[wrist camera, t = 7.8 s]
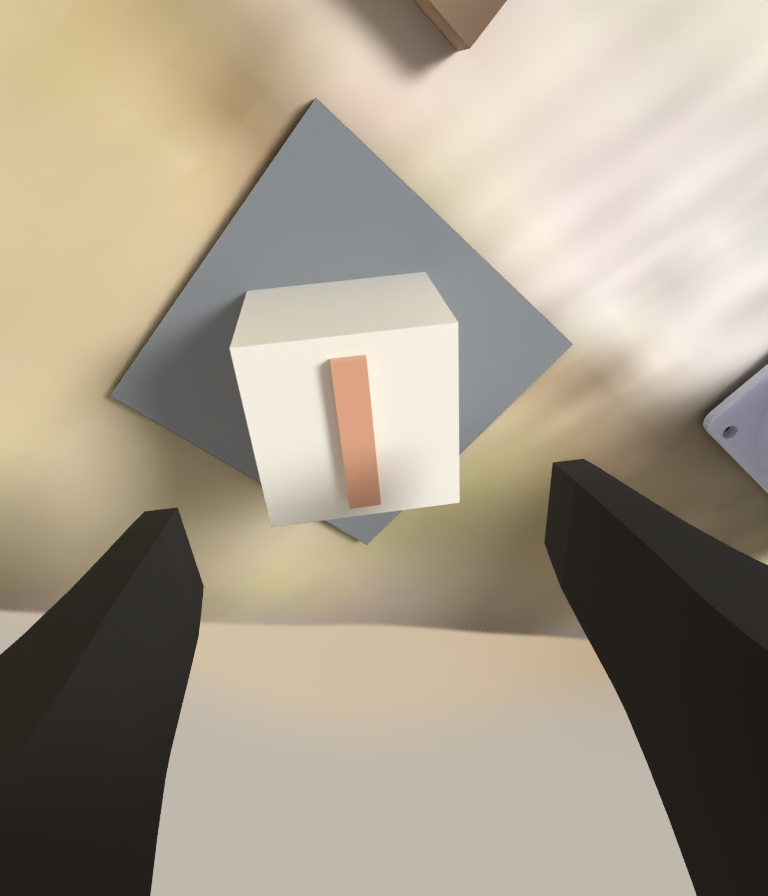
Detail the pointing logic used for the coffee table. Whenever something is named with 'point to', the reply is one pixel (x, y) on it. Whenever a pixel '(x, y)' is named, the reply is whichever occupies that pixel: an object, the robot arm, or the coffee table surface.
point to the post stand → (461, 18)
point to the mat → (329, 260)
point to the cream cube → (350, 396)
